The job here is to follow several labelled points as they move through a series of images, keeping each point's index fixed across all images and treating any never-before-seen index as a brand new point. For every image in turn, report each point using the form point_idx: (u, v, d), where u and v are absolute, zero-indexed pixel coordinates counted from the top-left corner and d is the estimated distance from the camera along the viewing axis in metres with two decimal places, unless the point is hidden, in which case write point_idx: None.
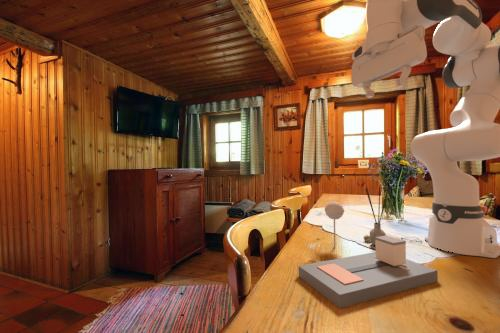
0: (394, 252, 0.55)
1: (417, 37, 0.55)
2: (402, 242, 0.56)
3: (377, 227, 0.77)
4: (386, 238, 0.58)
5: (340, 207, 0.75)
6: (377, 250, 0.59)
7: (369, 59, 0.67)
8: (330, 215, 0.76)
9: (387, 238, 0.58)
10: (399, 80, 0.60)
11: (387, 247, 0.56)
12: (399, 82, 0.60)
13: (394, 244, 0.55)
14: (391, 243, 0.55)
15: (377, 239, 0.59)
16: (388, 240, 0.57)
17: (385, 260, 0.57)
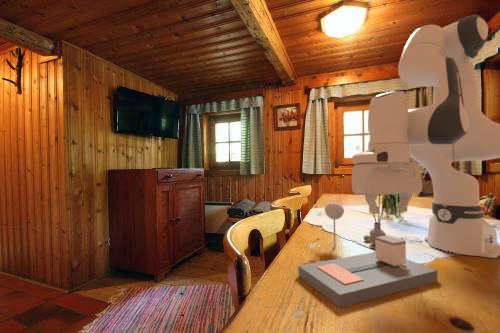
0: (394, 252, 0.55)
1: None
2: (402, 242, 0.56)
3: (377, 227, 0.77)
4: (386, 238, 0.58)
5: (340, 207, 0.75)
6: (377, 250, 0.59)
7: (385, 170, 0.55)
8: (330, 215, 0.76)
9: (387, 238, 0.58)
10: (405, 206, 0.58)
11: (387, 247, 0.56)
12: (405, 208, 0.58)
13: (394, 244, 0.55)
14: (391, 243, 0.55)
15: (377, 239, 0.59)
16: (388, 240, 0.57)
17: (385, 260, 0.57)
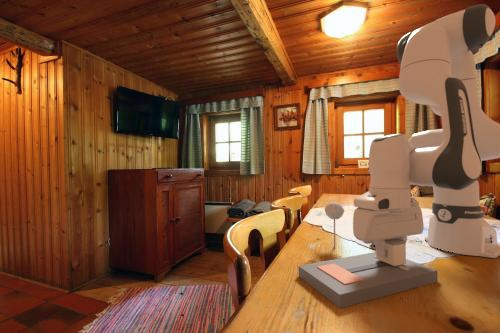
0: (394, 252, 0.55)
1: None
2: (402, 242, 0.56)
3: None
4: None
5: (340, 207, 0.75)
6: None
7: (386, 215, 0.55)
8: (330, 215, 0.76)
9: None
10: None
11: (387, 247, 0.56)
12: None
13: (394, 244, 0.55)
14: (391, 243, 0.55)
15: None
16: (388, 240, 0.57)
17: (385, 260, 0.57)
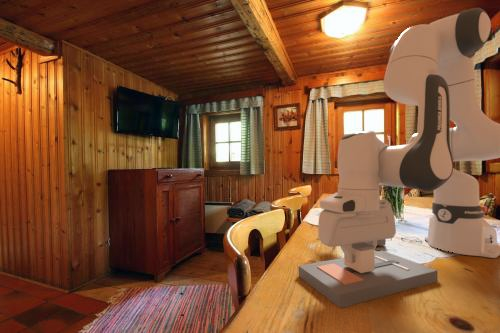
0: (361, 259, 0.51)
1: None
2: (371, 247, 0.52)
3: None
4: None
5: None
6: None
7: (353, 218, 0.51)
8: None
9: (356, 243, 0.54)
10: None
11: (354, 252, 0.53)
12: None
13: (361, 250, 0.51)
14: (358, 248, 0.51)
15: None
16: (356, 245, 0.53)
17: (353, 266, 0.53)
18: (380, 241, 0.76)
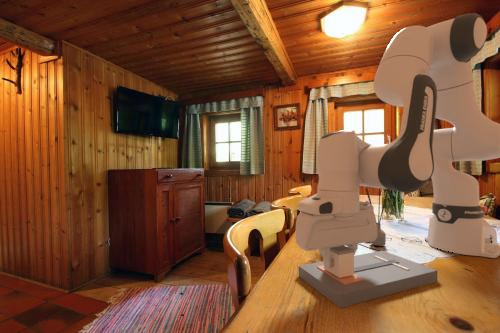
0: (339, 263, 0.49)
1: None
2: (350, 251, 0.50)
3: (377, 227, 0.77)
4: None
5: None
6: None
7: (331, 221, 0.49)
8: None
9: None
10: None
11: (333, 256, 0.50)
12: None
13: (340, 253, 0.49)
14: (337, 252, 0.49)
15: None
16: (335, 249, 0.51)
17: (332, 271, 0.51)
18: (380, 241, 0.76)
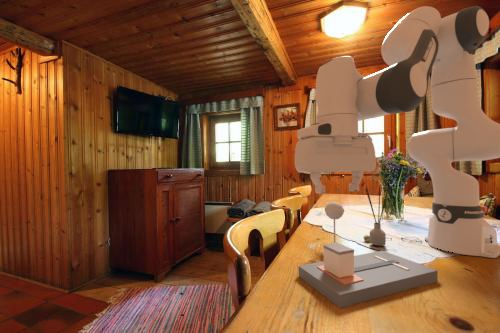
0: (339, 263, 0.49)
1: None
2: (350, 251, 0.50)
3: (377, 227, 0.77)
4: (334, 246, 0.52)
5: (340, 207, 0.75)
6: (325, 259, 0.53)
7: (330, 145, 0.49)
8: (330, 215, 0.76)
9: (335, 246, 0.52)
10: (357, 185, 0.53)
11: (333, 256, 0.50)
12: (357, 187, 0.53)
13: (339, 253, 0.49)
14: (337, 252, 0.49)
15: (325, 247, 0.53)
16: (335, 249, 0.51)
17: (332, 271, 0.51)
18: (380, 241, 0.76)
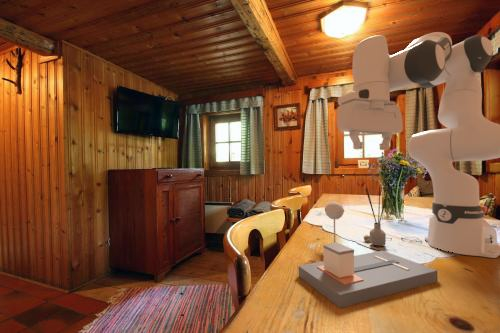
0: (339, 263, 0.49)
1: None
2: (350, 251, 0.50)
3: (377, 227, 0.77)
4: (334, 246, 0.52)
5: (340, 207, 0.75)
6: (325, 259, 0.53)
7: (367, 108, 0.60)
8: (330, 215, 0.76)
9: (335, 246, 0.52)
10: (387, 144, 0.64)
11: (333, 256, 0.50)
12: (387, 146, 0.63)
13: (339, 253, 0.49)
14: (337, 252, 0.49)
15: (325, 247, 0.53)
16: (335, 249, 0.51)
17: (332, 271, 0.51)
18: (380, 241, 0.76)
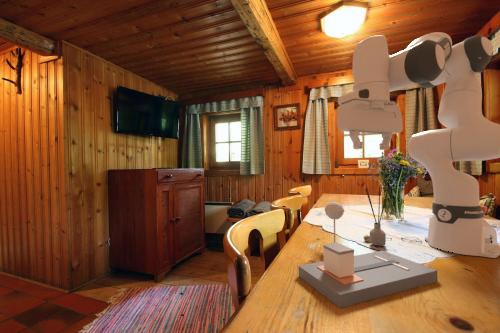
0: (339, 263, 0.49)
1: None
2: (350, 251, 0.50)
3: (377, 227, 0.77)
4: (334, 246, 0.52)
5: (340, 207, 0.75)
6: (325, 259, 0.53)
7: (367, 108, 0.60)
8: (330, 215, 0.76)
9: (335, 246, 0.52)
10: (387, 144, 0.64)
11: (333, 256, 0.50)
12: (387, 146, 0.63)
13: (339, 253, 0.49)
14: (337, 252, 0.49)
15: (325, 247, 0.53)
16: (335, 249, 0.51)
17: (332, 271, 0.51)
18: (380, 241, 0.76)
